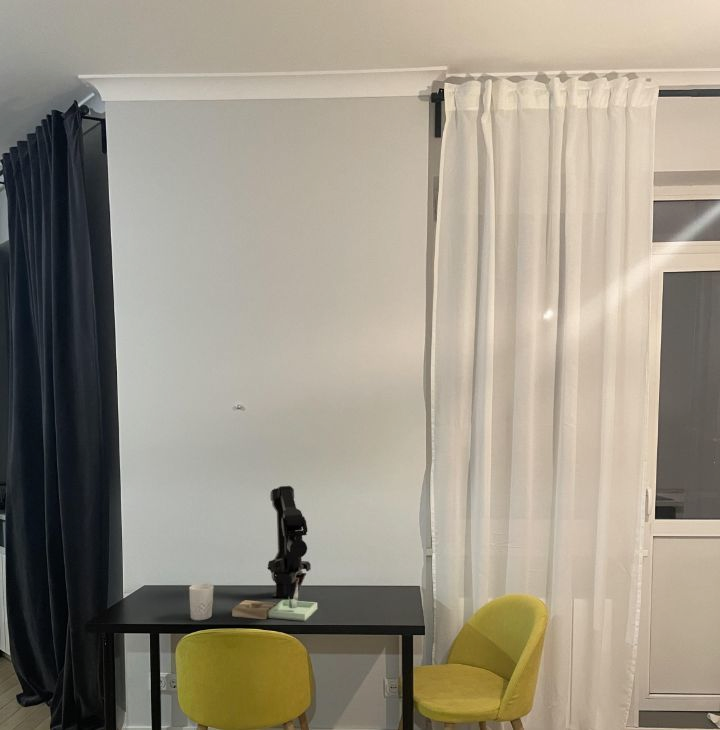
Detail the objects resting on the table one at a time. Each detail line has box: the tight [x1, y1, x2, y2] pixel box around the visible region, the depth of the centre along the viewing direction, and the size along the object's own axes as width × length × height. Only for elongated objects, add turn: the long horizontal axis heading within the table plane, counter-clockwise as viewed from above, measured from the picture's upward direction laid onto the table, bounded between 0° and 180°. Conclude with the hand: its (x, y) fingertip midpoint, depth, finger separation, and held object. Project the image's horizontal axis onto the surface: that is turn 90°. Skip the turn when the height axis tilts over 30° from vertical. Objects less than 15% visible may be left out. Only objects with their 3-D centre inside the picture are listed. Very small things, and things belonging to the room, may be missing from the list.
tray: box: [267, 599, 318, 622], centre depth 199 cm, size 12×13×2 cm
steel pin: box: [288, 577, 299, 608], centre depth 200 cm, size 4×4×9 cm
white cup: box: [188, 582, 214, 621], centre depth 197 cm, size 8×8×10 cm
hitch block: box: [231, 599, 277, 620], centre depth 200 cm, size 9×12×2 cm
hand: (293, 597), depth 200 cm, fingers closed on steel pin, 3 cm apart
